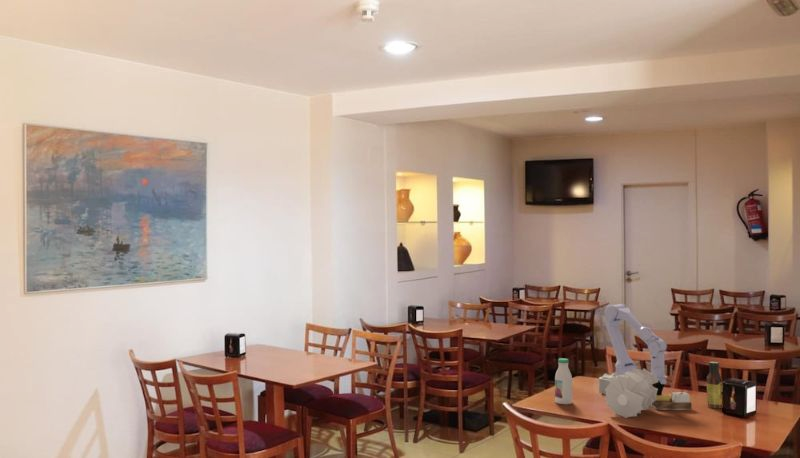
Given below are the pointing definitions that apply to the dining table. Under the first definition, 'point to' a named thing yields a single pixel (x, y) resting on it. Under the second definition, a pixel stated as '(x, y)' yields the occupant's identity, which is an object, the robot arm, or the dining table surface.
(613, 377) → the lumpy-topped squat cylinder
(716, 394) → the sauce bottle
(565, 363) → the milk bottle
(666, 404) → the tan flat board
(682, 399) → the white block with knob
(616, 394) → the spiral staircase
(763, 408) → the dining table surface
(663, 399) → the lever
